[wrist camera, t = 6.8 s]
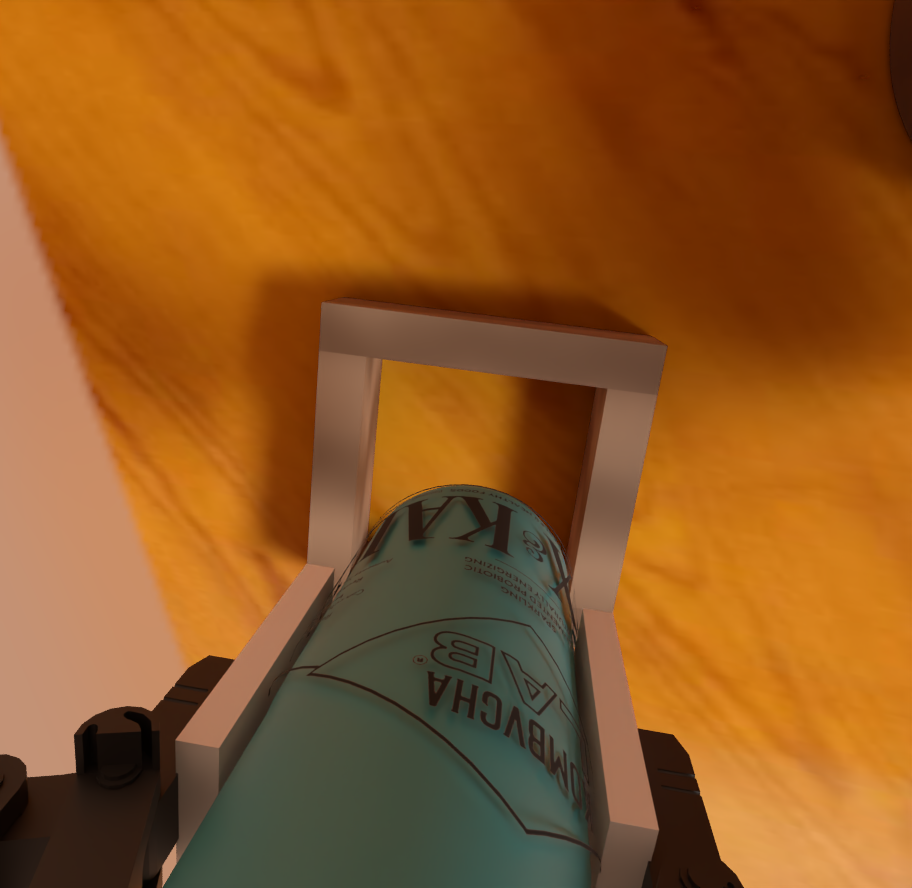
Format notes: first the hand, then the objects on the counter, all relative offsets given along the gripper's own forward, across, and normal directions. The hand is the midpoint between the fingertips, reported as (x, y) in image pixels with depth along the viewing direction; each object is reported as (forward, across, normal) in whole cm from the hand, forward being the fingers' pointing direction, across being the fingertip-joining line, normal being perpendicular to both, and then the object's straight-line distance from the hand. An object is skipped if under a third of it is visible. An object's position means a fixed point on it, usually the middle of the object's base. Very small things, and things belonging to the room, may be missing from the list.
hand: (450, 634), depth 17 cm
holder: (+15, -1, 0) cm, 15 cm away
